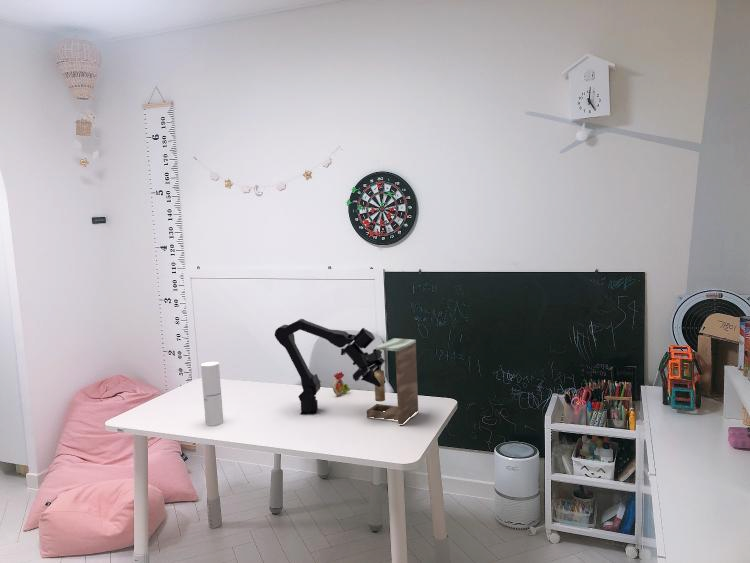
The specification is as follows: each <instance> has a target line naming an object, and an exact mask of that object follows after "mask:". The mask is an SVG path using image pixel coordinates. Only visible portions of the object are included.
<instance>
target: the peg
mask: <svg viewBox="0 0 750 563" xmlns="http://www.w3.org/2000/svg"><path fill="white" fill-rule="evenodd" d="M374 376H375V377H376V379H377V380H378V381H379V383H380V384H381V386H380V387H378V386H376V385H374V396H375V398H374V399H375V401H376V402H378V403H379V402H380V403H381V402H384V401H386V391H385V386H386V383H385V384H384V379H385V371H384V370H383V369H381V370H376V371H374Z"/></svg>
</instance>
